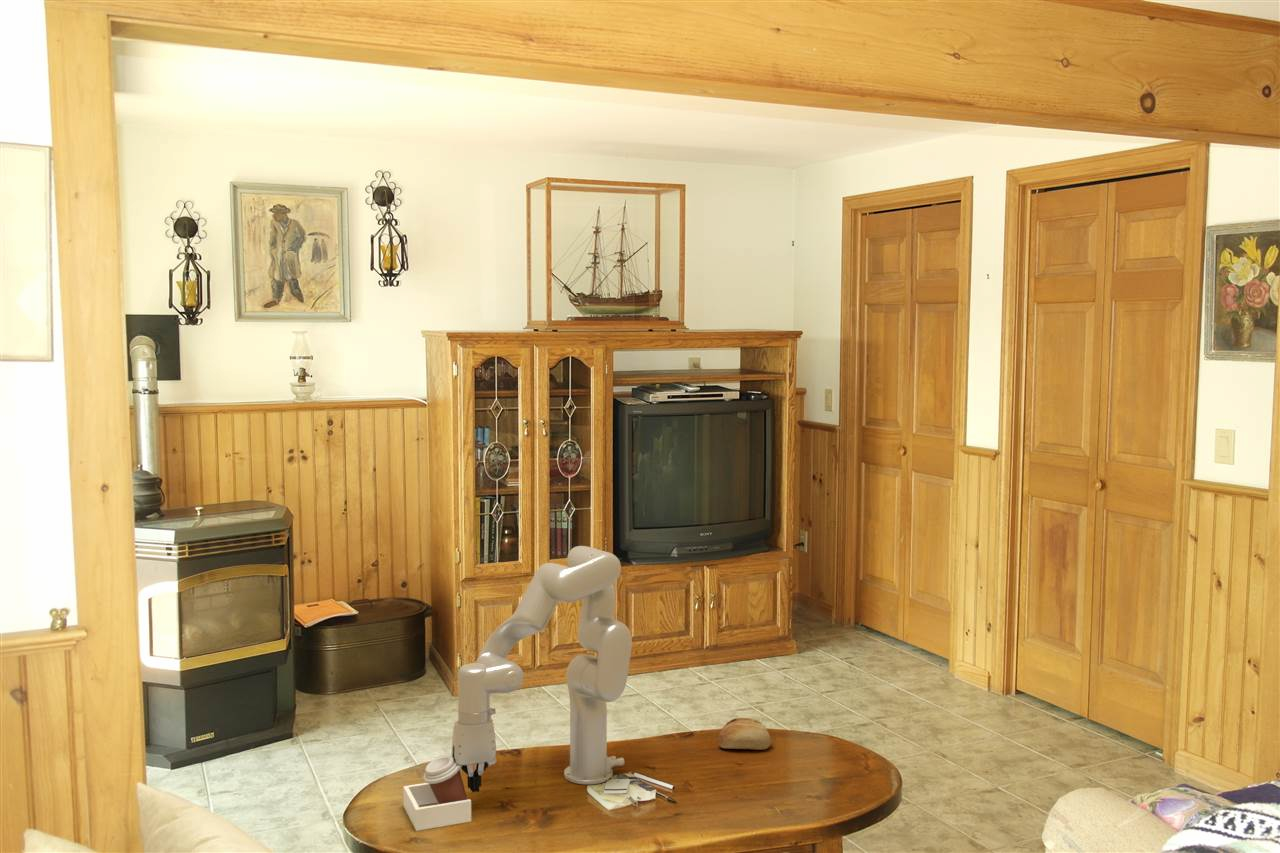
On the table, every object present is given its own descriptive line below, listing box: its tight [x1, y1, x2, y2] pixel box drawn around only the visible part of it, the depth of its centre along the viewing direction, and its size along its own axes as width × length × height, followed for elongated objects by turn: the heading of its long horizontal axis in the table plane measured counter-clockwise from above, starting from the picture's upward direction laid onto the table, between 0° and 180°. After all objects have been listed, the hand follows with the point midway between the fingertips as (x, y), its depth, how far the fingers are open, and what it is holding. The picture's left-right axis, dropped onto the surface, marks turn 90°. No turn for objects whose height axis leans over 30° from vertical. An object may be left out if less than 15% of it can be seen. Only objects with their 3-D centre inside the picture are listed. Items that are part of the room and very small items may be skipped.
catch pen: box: [403, 782, 472, 832], centre depth 263 cm, size 13×14×5 cm
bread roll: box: [716, 717, 772, 751], centre depth 307 cm, size 10×15×8 cm, turn 94°
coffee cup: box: [422, 755, 468, 804], centre depth 263 cm, size 9×9×12 cm
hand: (474, 790), depth 266 cm, fingers closed
